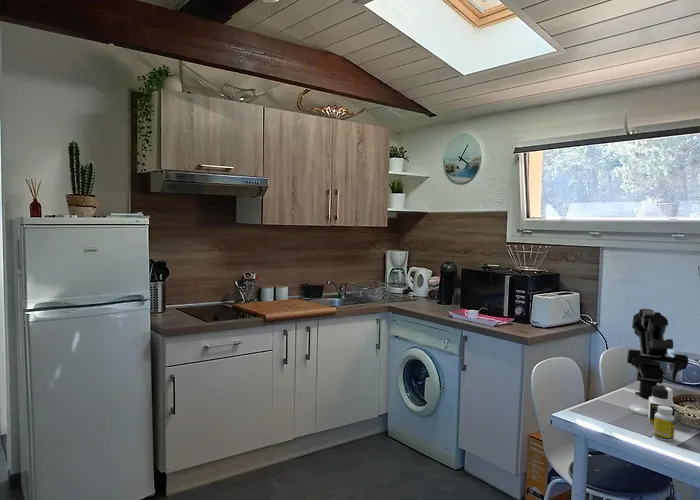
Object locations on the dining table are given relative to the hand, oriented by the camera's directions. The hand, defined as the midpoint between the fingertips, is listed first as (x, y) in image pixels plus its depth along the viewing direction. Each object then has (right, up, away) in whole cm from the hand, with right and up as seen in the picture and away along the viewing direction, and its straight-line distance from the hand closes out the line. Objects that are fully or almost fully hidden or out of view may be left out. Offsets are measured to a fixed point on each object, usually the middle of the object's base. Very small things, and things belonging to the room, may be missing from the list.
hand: (658, 379), depth 179 cm
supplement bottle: (-11, -13, -20) cm, 27 cm away
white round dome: (-4, -12, +4) cm, 13 cm away
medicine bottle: (-3, -13, -6) cm, 15 cm away
